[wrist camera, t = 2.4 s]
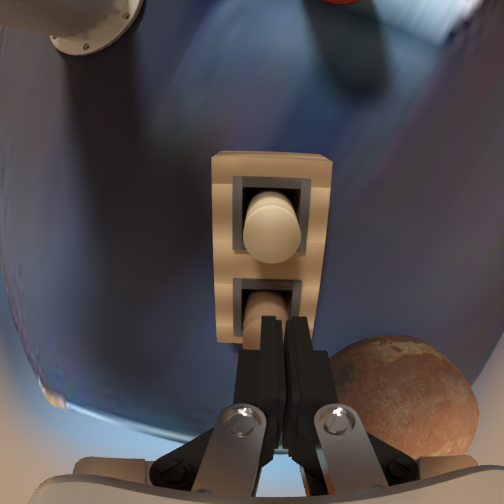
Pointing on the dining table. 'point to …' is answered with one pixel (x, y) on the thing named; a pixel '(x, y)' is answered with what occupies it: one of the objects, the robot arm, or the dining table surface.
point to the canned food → (340, 1)
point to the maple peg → (271, 227)
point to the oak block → (232, 226)
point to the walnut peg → (261, 305)
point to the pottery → (407, 395)
